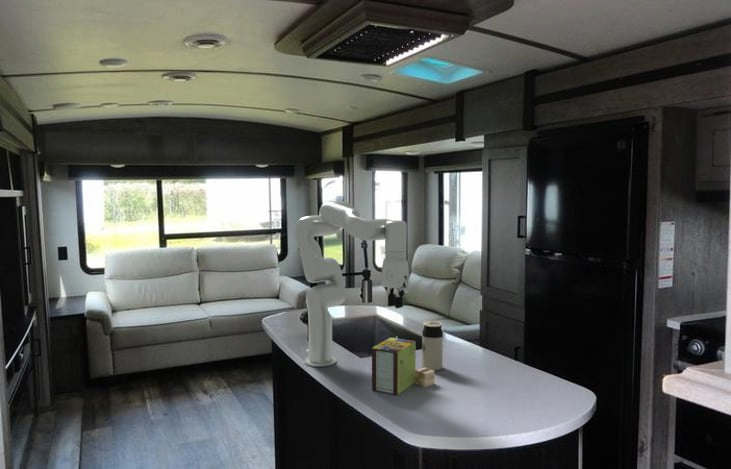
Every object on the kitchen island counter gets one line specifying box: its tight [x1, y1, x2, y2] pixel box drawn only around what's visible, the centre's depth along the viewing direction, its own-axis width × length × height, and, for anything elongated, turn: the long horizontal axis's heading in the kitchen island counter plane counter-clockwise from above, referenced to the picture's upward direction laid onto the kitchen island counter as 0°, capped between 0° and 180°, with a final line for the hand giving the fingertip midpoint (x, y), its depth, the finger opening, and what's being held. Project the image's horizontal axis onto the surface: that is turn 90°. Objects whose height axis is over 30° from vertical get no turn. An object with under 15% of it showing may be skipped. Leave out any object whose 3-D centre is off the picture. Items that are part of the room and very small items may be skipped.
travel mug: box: [421, 320, 444, 372], centre depth 217 cm, size 8×8×18 cm
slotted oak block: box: [414, 367, 436, 388], centre depth 200 cm, size 5×5×5 cm
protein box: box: [371, 337, 417, 396], centre depth 197 cm, size 10×15×16 cm
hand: (395, 306), depth 195 cm, fingers open, 3 cm apart
